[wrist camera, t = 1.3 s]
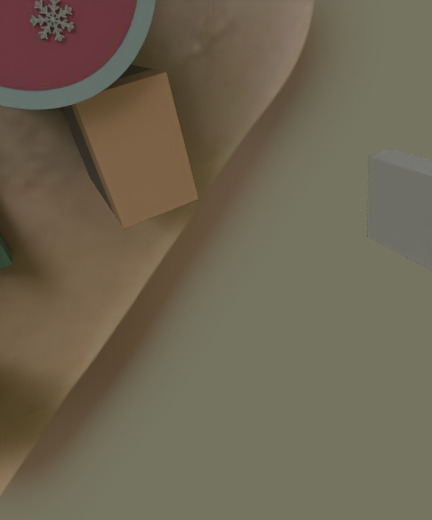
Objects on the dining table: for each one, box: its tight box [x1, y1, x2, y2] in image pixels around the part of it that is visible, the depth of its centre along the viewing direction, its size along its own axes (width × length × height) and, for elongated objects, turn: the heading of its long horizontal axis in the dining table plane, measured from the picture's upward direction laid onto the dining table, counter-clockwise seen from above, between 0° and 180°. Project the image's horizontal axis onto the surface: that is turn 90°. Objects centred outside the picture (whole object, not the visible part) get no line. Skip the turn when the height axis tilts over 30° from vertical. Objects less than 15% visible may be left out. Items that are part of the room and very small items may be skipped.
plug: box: [61, 65, 199, 229], centre depth 22 cm, size 6×4×9 cm, turn 14°
